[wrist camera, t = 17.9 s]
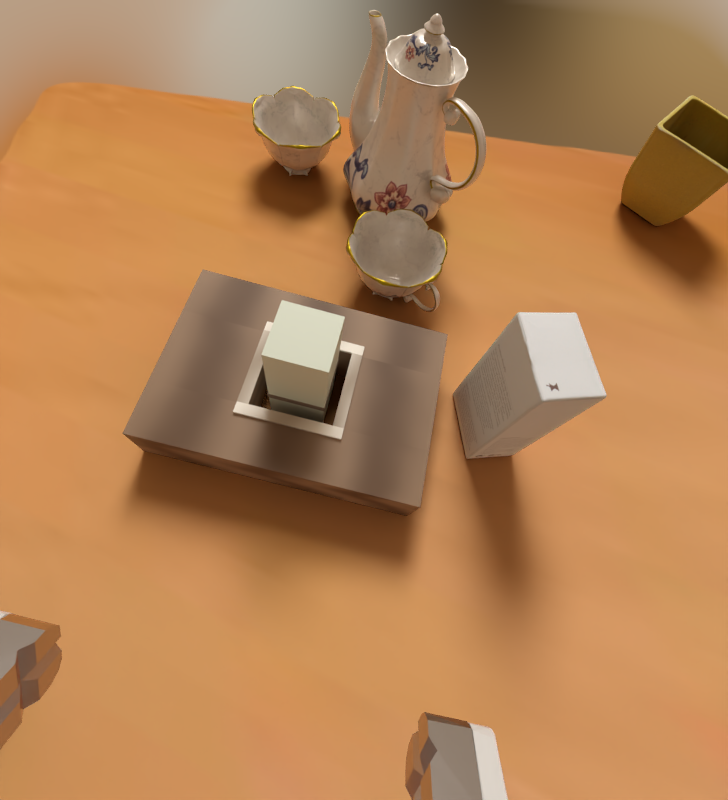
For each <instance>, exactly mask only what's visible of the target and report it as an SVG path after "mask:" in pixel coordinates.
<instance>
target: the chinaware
mask: <svg viewBox="0 0 728 800" xmlns="http://www.w3.org/2000/svg"><path fill="white" fill-rule="evenodd" d="M369 19H370V24H371V29H372V44H371V50H370V52H369V55H368V59H367V61H366V64H365V66H364V69H363V71H362V74H361V77H360V79H359V81H358V84H357V86H356V89H355V92H354V95H353V99H352V103H351V111H350V119H349V131H350V138H351V142H352V146H353V149H354V152H353V153H352V154H351V156H350V157H349V158H348V159H347V161H346V162H345V165H344V168H343V171H344V175H345V178H346V180H347V182H348V185H349V188H350V191H351V194H352V199H353V203H354V206H355V209H356V210H357V212H358V214H359V215H360V217H359V218H358V219H357V220H356V222H355V225H354V228H353V231H352V233H353V234H352V233H351V235H350V236H349V238H348V240H347V246H346V251H347V254H348V255H349V256H350V257H351V259H352V260H353V262H354V263H355V264H356V268H357V271H358V273H359V275H360V277H361V279H362V280H363V282H364V283H365V284H366V286H367V287H368V288H370V289H371V290H372V291H373V293H372V294H378V295H380V296H382V297H386V298H389V299H390V300H391V301H392V300H393V297H396V298H397V297H403V300H404V301H405V302H406V303H407V302H409V301H411V300H412V299H413V300H414V302H415V303H416V304H417V305H418V306H419V307H420V308H421V309H422V310H424V311H426V312H432V311H434V310H436V309H437V308H438V306H439V303H440V294H439V292H438V290H437V288H436V287H435V286H434V285H433V284H432V283H433V282H435V281H436V280H437V278H438V276H439V275H440V273H441V270H442V264H443V263H444V260H445V257H446V254H447V241H446V239H445V238H444V237H443V236H442V234H441V233H440V232H438V231H435V230H433V229H429V230H428V228H429V226H428V225H427V223H426V222H427V221H429V220H431V219H432V218H433V217H434V216H435V215H436V213H437V211H438V209H439V208H440V206H441V205H442V204H444V203H446V202H447V201H448V200H449V198H450V197H451V195H452V193H453V191H452V190H455V191H457V190H462V189H465V188H467V187H469V186H470V185H471V184H473V183H474V182H475V181H476V179H477V178H478V177H479V175H480V173H481V171H482V169H483V166H484V162H485V157H486V139H485V133H484V130H483V127H482V124H481V122H480V120H479V118H478V116H477V115H476V113H475V112H474V111H473V110H472V109H471V108H470V107H469V106H468V105H467V104H466V103H465V102H464V101H462V100H460V99H458V98H453V95H454V93H455V91H456V89H457V87H458V85H459V83H460V81H461V80H462V79H464V78H465V76H466V73H467V71H468V67H467V64H466V59H465V58H464V57H463V56H462V55H461V54H460V52H459V51H458V50H457V48H454V47H452V46H451V45H450V42H449V40H448V38H447V37H446V36H445V35H444V34H443V33H444V31H445V29H444V26H443V25H442V19H441V16H440V15H439V14H435V15H433V16H432V17H431V19H430V21H428V22H426V23H425V25H424V27H425V29H420V30H418V31H416V32H415V33H413V34H410V35H400V36H399V37H397V38H396V39H394V40H391V41H390V42H389V44H388V46H387V33H386V27H385V23H384V20H383V18H382V15H381V13H380V12H378V11H375V10H371V11H369ZM386 58H387V62H388V77H387V84H386V90H385V94H384V99H383V103H382V106H381V109H380V111H379V94H380V87H381V82H382V77H383V72H384V68H385V62H386ZM450 104H452V105H454V106H455V107H456V108H457V109H452V110H451V111H449V106H450ZM460 112H461V113H462V115H463V116H464V117H465V118H466V120H467V121H468V123H469V125H470V127H471V129H472V132H473V135H474V139H475V145H476V158H475V164H474V167H473V170H472V172H471V174H470V175H469V177H468V178H467V179H466V180H465V181H463V182H460V183H454V182H452V181H451V176H450V172H449V169H448V166H447V162H446V158H445V146H444V141H445V125H446V123H447V124H449V125H454V124H455V123H456V122H457V120H458V119H459V118H460ZM252 113H253V118H254V119H253V125H254V127H255V131H256V133H257V134H258V135H259V136H261V137H262V139H263V142H264V144H265V146H266V148H267V150H268V152H269V153H270V154H271V156H272V157H273V158H274V159H275V160H276V161H277V162H279V163H280V165H282V166H284V168H285V169H286V170H287V171H288V172H289V175H290V176H291V175H292V174H295V175H303V174H305V175H306V176H308V174H307V173H308V172H309V171H310V169H311V168H312V167H314V166H316V165H317V164H319V163H320V162H321V161H322V160H323V159H324V157H325V156H326V155H327V153H328V151H329V149H330V146H331V143H332V141H334V140H335V139H337V138H338V137H339V136H340V134H341V125H340V123H339V113H338V109H337V108H336V105H335V103H334V102H333V101H330V100H329V99H327V98H315V100H314V97H313V96H312V95H310V94H309V93H308V92H307V91H306V90H304V89H302V88H298V87H295V86H291V87H286V88H282V89H281V90H280V91H278V93H276V94H275V95H274V98H273V96H272V95H261V96H259V97H256V98H255V99H254V102H253V105H252ZM423 285H426V289H425V290H430V289H432V291H433V294H434V298H435V306H434V307H433V308H428V307H426V306H425V305H423V304H422V303H421V302H420V301H419V300H418V299H417V298H416V297H415V295H413V294H412V293H413V292H415V291H417V290H418V289H419V288H421V287H422V286H423Z"/></svg>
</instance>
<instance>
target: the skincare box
mask: <svg viewBox="0 0 728 800" xmlns="http://www.w3.org/2000/svg"><path fill="white" fill-rule="evenodd" d="M453 397H454V401H455V406H456V411H457V416H458V421H459V426H460V431H461V435H462V440H463V445H464V450H465V456H466V458H467V459H468V458H483V457H496V456H512V455H514V454H516V453H517V452H519V451H520V450H522V449H524V448H525V447H527V446H529V445H530V444H532V443H533V442H535V441H537V440H538V439H540V438H541V437H543V436H545V435H546V434H548V433H550V432H551V431H553V430H554V429H556V428H558V427H559V426H561V425H562V424H564V423H566V422H567V421H569V420H571V419H572V418H574V417H575V416H577V415H579V414H580V413H582V412H583V411H585V410H587V409H588V408H590V407H592V406H593V405H595V404H596V403H598V402H600V401H601V400H603V399H604V398H606V392H605V390H604V387H603V384H602V382H601V379H600V376H599V374H598V371H597V368H596V366H595V363H594V360H593V357H592V355H591V352H590V349H589V347H588V344H587V341H586V339H585V336H584V333H583V330H582V328H581V325H580V322H579V319H578V316H577V314H576V313H525V312H519V313H517V314H516V315H515V317H514V318H513V319H512V320H511V322H510V323H509V324H508V325H507V327H506V328H505V329H504V331H503V332H502V333H501V334H500V336H499V337H498V338H497V339H496V341H495V342H494V343H493V344H492V346H491V347H490V348H489V349H488V351H487V352H486V353H485V354H484V356H483V357H482V358H481V359H480V361H479V362H478V363H477V364H476V365H475V367H474V368H473V369H472V370H471V372H470V373H469V374H468V375H467V377H466V378H465V379H464V380H463V382H462V383H461V384H460V385H459V387H458V388H457V389H456V390H455V392H454V393H453Z"/></svg>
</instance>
